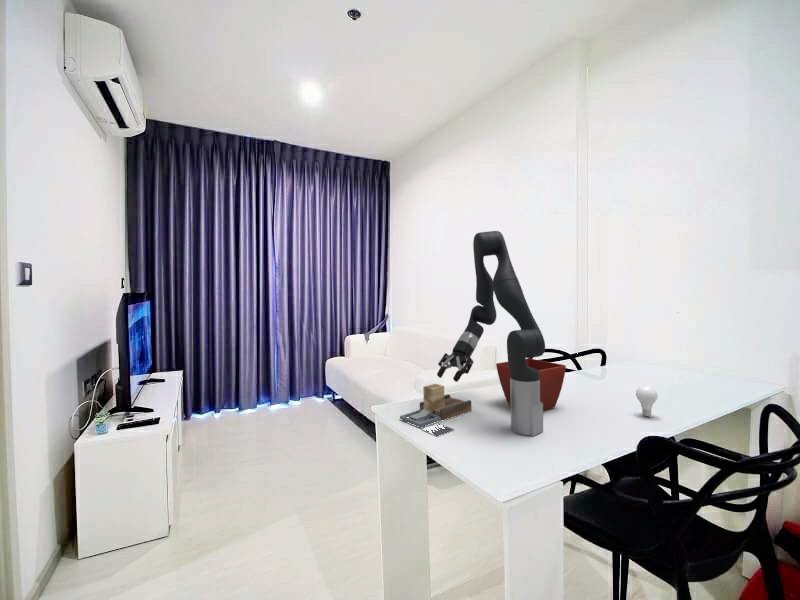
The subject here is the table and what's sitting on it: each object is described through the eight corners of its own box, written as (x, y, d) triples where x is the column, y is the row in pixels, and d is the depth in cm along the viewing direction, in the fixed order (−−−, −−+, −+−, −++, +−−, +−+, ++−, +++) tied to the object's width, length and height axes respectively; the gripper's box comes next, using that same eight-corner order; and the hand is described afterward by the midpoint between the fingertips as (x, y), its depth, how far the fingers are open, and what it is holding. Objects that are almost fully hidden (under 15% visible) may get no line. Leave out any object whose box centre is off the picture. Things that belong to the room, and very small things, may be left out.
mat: (454, 430, 122) (454, 429, 122) (437, 436, 117) (437, 435, 117) (437, 423, 128) (437, 422, 128) (420, 429, 123) (420, 428, 123)
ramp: (471, 410, 140) (471, 400, 140) (442, 421, 130) (442, 410, 130) (448, 403, 150) (448, 394, 150) (419, 413, 140) (419, 402, 139)
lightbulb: (648, 420, 126) (647, 389, 125) (631, 414, 132) (631, 384, 131) (662, 418, 127) (661, 387, 127) (645, 412, 133) (645, 383, 133)
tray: (440, 421, 131) (440, 416, 130) (420, 428, 124) (420, 423, 124) (420, 413, 139) (420, 409, 139) (400, 419, 133) (399, 415, 133)
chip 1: (416, 418, 128) (416, 423, 128) (424, 416, 131) (424, 420, 131) (408, 416, 131) (409, 420, 131) (417, 413, 134) (417, 417, 134)
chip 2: (433, 414, 133) (432, 410, 133) (426, 420, 131) (425, 416, 130) (426, 411, 136) (425, 407, 136) (418, 417, 134) (417, 413, 133)
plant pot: (495, 404, 148) (494, 362, 148) (529, 396, 157) (528, 357, 156) (532, 418, 131) (531, 371, 131) (567, 409, 140) (567, 365, 139)
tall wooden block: (444, 407, 136) (444, 386, 136) (433, 411, 133) (432, 389, 132) (435, 404, 140) (434, 383, 140) (423, 407, 136) (423, 386, 136)
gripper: (448, 338, 151) (428, 369, 144) (475, 341, 140) (455, 376, 133) (457, 349, 154) (438, 380, 148) (484, 353, 143) (465, 387, 137)
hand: (446, 378), depth 140 cm, fingers open, 8 cm apart
